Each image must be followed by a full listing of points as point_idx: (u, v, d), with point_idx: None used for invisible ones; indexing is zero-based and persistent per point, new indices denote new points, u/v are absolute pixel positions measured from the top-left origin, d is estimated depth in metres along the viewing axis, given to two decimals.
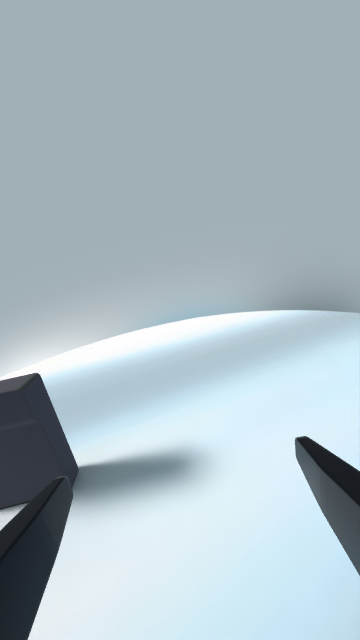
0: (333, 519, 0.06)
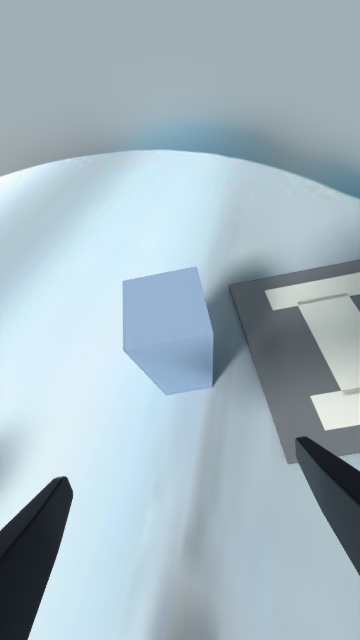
0: (333, 519, 0.06)
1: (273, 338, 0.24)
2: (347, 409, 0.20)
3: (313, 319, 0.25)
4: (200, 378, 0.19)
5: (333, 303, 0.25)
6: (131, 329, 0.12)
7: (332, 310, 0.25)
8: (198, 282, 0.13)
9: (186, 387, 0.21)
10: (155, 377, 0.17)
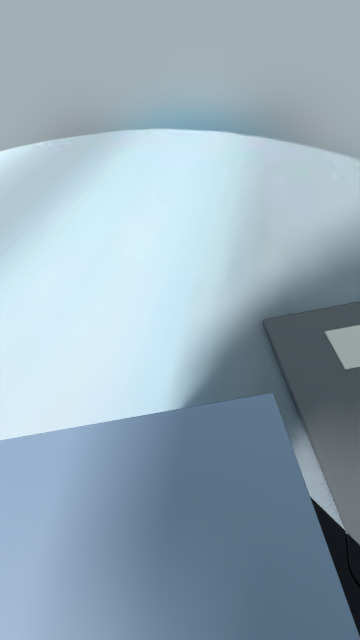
0: None
1: (355, 427, 0.13)
2: None
3: None
4: None
5: None
6: None
7: None
8: (303, 513, 0.03)
9: None
10: None
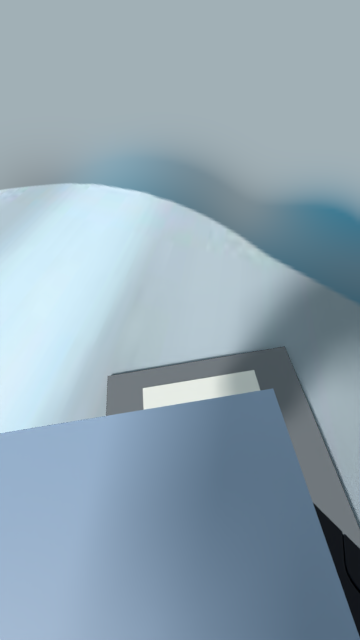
0: None
1: None
2: None
3: None
4: None
5: None
6: None
7: None
8: (301, 501, 0.03)
9: None
10: None
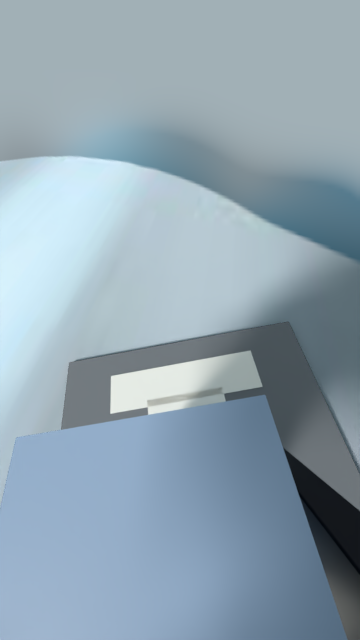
0: None
1: None
2: None
3: None
4: None
5: (198, 405, 0.16)
6: None
7: None
8: (287, 485, 0.03)
9: None
10: None
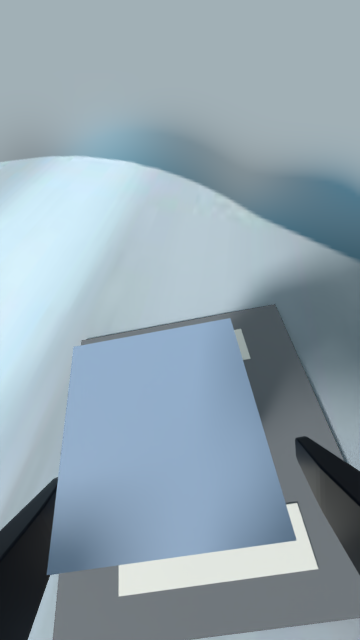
0: (333, 519, 0.06)
1: None
2: None
3: None
4: None
5: None
6: (76, 496, 0.05)
7: None
8: (238, 361, 0.06)
9: None
10: None
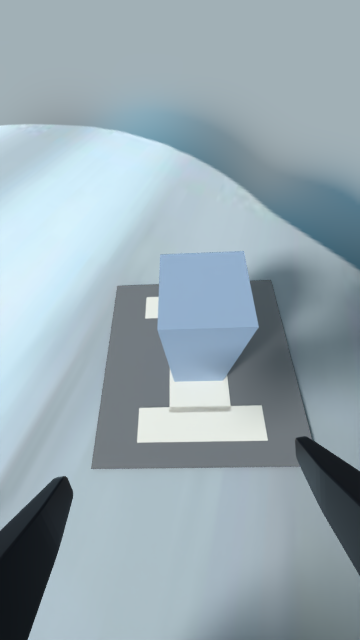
0: (333, 519, 0.06)
1: (133, 346, 0.24)
2: (166, 425, 0.21)
3: None
4: (216, 370, 0.18)
5: None
6: (167, 308, 0.11)
7: None
8: (244, 269, 0.12)
9: (198, 377, 0.21)
10: (174, 362, 0.16)
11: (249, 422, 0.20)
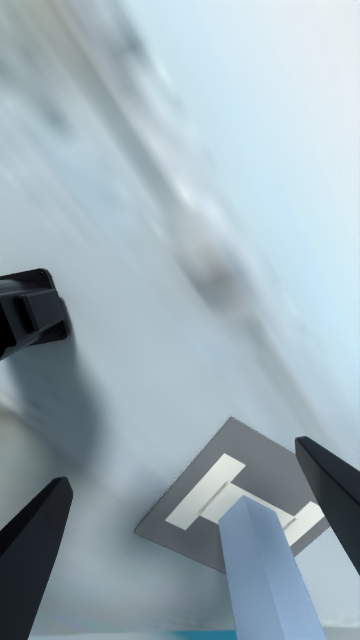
0: (333, 519, 0.06)
1: (295, 482, 0.25)
2: (219, 474, 0.25)
3: None
4: (232, 563, 0.22)
5: None
6: None
7: None
8: None
9: (235, 525, 0.24)
10: (265, 584, 0.18)
11: (181, 518, 0.26)
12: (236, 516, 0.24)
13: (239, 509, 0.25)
